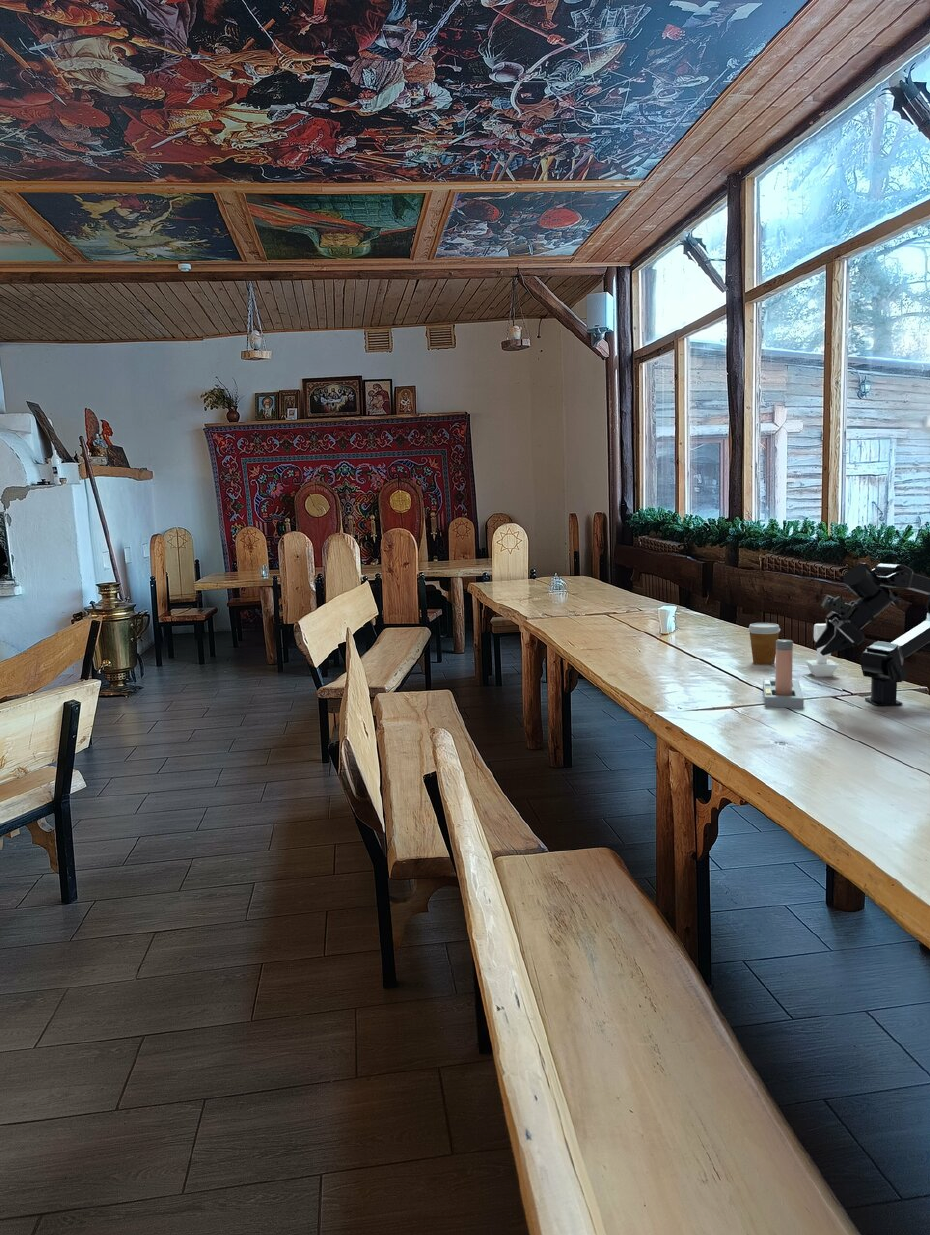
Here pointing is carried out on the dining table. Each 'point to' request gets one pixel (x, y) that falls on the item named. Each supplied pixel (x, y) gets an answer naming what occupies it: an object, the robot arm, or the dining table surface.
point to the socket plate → (781, 700)
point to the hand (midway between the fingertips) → (818, 650)
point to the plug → (784, 667)
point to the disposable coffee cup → (763, 642)
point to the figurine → (821, 657)
